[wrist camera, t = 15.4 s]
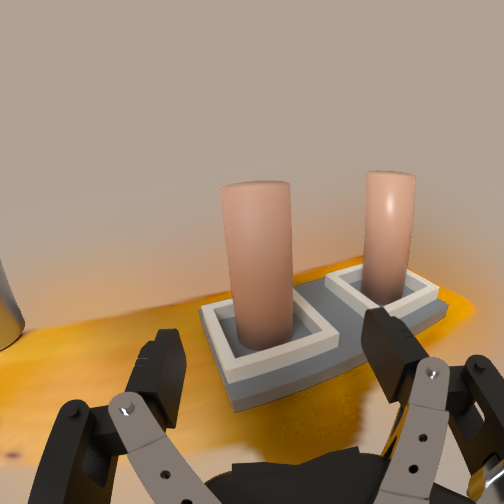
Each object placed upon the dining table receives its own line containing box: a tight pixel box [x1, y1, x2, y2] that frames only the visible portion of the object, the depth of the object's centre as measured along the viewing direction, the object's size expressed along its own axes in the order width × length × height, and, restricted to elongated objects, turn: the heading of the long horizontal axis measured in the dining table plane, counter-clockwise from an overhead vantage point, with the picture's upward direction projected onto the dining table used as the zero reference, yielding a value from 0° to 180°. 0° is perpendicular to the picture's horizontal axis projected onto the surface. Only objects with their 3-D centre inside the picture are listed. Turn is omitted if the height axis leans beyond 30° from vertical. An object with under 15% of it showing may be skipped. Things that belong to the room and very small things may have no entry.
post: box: [220, 181, 293, 351], centre depth 22 cm, size 5×5×13 cm
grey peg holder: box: [199, 171, 449, 413], centre depth 25 cm, size 24×13×14 cm, turn 109°
